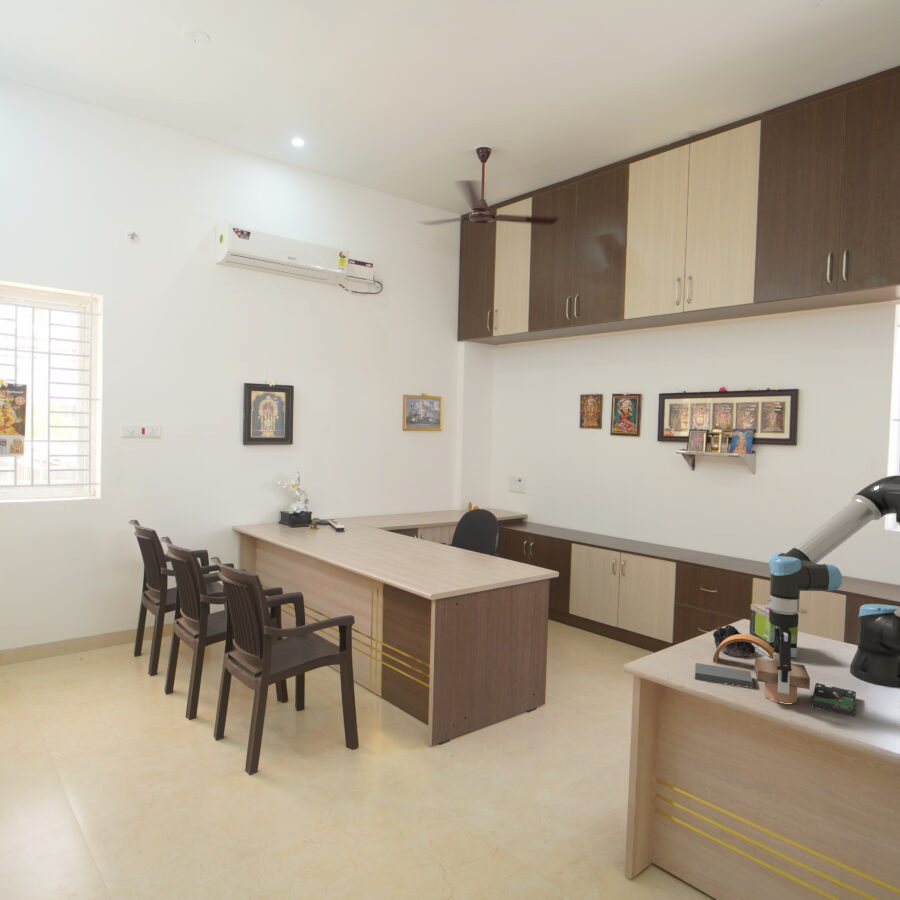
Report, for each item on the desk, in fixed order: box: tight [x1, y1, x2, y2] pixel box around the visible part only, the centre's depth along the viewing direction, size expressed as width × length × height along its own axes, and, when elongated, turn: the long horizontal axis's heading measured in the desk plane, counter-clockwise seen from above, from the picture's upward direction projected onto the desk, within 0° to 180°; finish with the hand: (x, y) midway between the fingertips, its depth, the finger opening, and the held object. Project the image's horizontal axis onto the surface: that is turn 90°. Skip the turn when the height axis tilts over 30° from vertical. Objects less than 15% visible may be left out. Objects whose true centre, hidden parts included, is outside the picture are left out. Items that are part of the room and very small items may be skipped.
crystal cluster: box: [712, 624, 756, 658], centre depth 221 cm, size 13×14×10 cm
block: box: [694, 662, 753, 688], centre depth 195 cm, size 16×9×2 cm, turn 68°
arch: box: [712, 633, 776, 664], centre depth 206 cm, size 6×20×10 cm, turn 58°
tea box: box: [748, 603, 799, 658], centre depth 222 cm, size 15×10×15 cm
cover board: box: [754, 657, 811, 690], centre depth 181 cm, size 13×11×3 cm
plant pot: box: [763, 682, 798, 704], centre depth 181 cm, size 8×8×6 cm
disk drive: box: [811, 682, 857, 718], centre depth 179 cm, size 10×3×15 cm
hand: (780, 683), depth 181 cm, fingers open, 13 cm apart
